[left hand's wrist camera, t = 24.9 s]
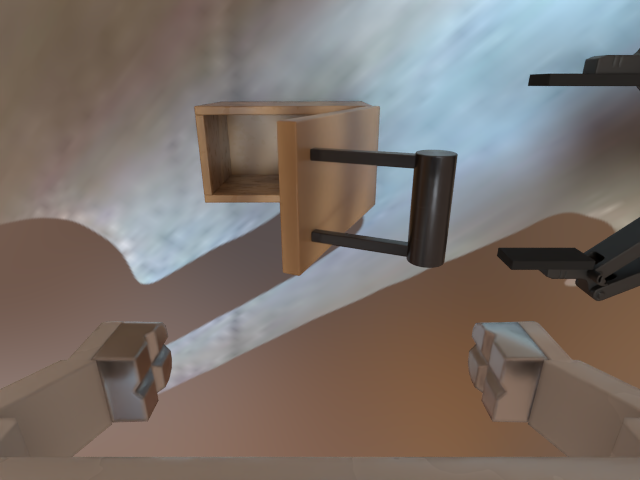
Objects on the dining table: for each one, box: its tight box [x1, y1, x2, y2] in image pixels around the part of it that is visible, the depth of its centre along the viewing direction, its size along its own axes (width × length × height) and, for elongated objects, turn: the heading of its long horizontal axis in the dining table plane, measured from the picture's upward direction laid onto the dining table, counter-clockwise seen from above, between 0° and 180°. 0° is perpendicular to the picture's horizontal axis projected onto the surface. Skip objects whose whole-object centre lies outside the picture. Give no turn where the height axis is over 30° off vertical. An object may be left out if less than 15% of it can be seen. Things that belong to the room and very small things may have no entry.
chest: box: [194, 101, 371, 203], centre depth 43 cm, size 17×9×10 cm, turn 90°
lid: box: [277, 106, 457, 276], centre depth 29 cm, size 17×9×10 cm
